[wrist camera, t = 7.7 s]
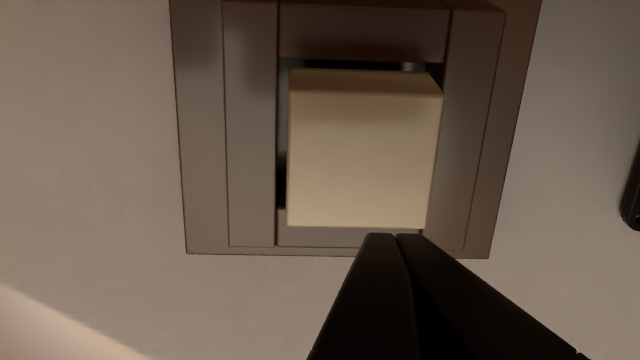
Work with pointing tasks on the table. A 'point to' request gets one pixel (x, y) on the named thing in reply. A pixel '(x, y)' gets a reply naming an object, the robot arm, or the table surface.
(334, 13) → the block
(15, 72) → the table surface
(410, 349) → the robot arm
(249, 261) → the table surface
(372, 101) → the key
